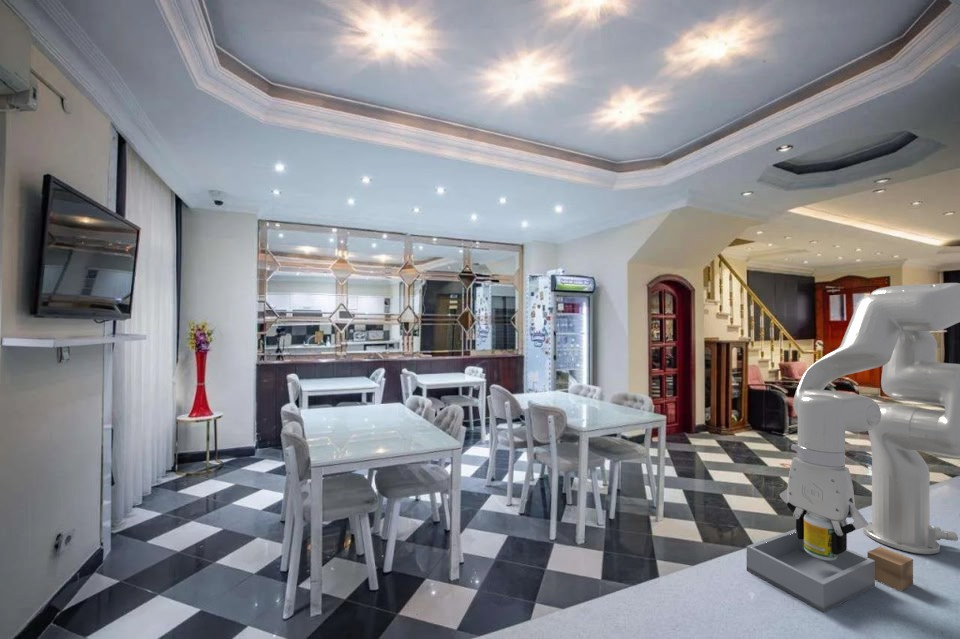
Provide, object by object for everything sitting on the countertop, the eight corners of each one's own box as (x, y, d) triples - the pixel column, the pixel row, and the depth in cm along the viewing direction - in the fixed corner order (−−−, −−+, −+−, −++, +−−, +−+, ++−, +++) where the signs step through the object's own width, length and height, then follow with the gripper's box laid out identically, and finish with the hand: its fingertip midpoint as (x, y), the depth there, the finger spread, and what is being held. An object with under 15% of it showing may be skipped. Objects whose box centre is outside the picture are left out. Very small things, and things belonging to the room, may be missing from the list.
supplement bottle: (809, 544, 88) (809, 499, 88) (841, 556, 84) (841, 508, 84) (799, 551, 85) (799, 505, 85) (832, 564, 81) (832, 515, 81)
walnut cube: (880, 570, 86) (880, 546, 86) (913, 584, 81) (913, 559, 81) (867, 576, 84) (867, 552, 84) (900, 591, 79) (900, 565, 79)
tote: (797, 550, 93) (797, 528, 93) (874, 586, 80) (874, 560, 80) (746, 570, 86) (746, 546, 86) (823, 612, 73) (823, 584, 73)
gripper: (765, 446, 91) (765, 529, 91) (863, 473, 75) (863, 573, 75) (786, 442, 94) (786, 522, 94) (884, 467, 78) (884, 563, 78)
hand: (820, 544), depth 85 cm, fingers closed on supplement bottle, 5 cm apart
